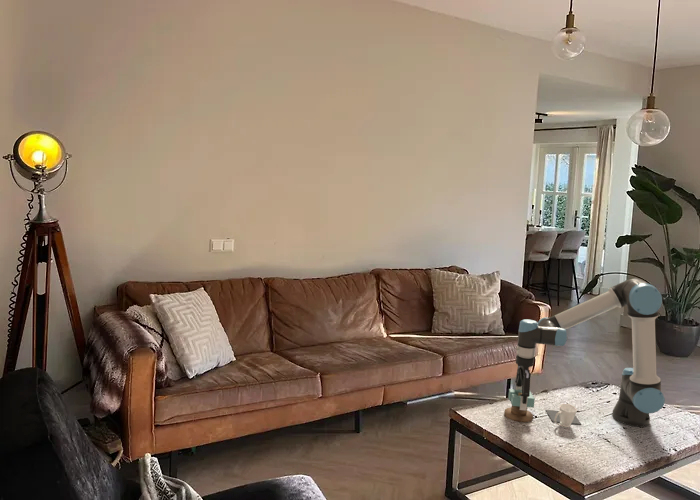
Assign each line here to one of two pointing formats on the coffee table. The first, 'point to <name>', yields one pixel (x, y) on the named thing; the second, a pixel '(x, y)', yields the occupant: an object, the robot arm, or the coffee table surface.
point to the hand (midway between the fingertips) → (520, 405)
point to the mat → (552, 416)
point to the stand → (518, 414)
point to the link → (516, 399)
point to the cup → (566, 415)
